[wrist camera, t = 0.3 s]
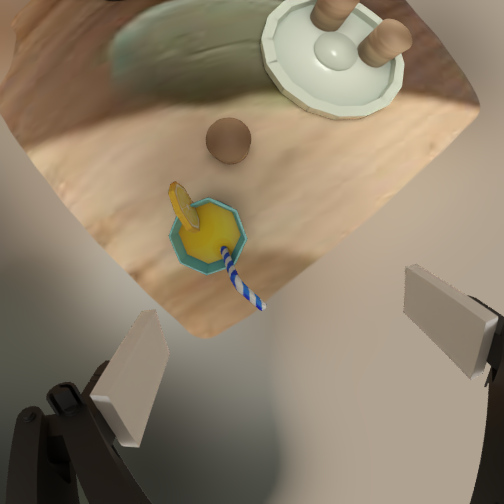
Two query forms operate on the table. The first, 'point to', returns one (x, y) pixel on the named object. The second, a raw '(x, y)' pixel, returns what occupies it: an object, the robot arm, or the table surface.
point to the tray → (327, 63)
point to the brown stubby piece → (228, 140)
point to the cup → (208, 237)
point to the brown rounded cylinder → (331, 13)
